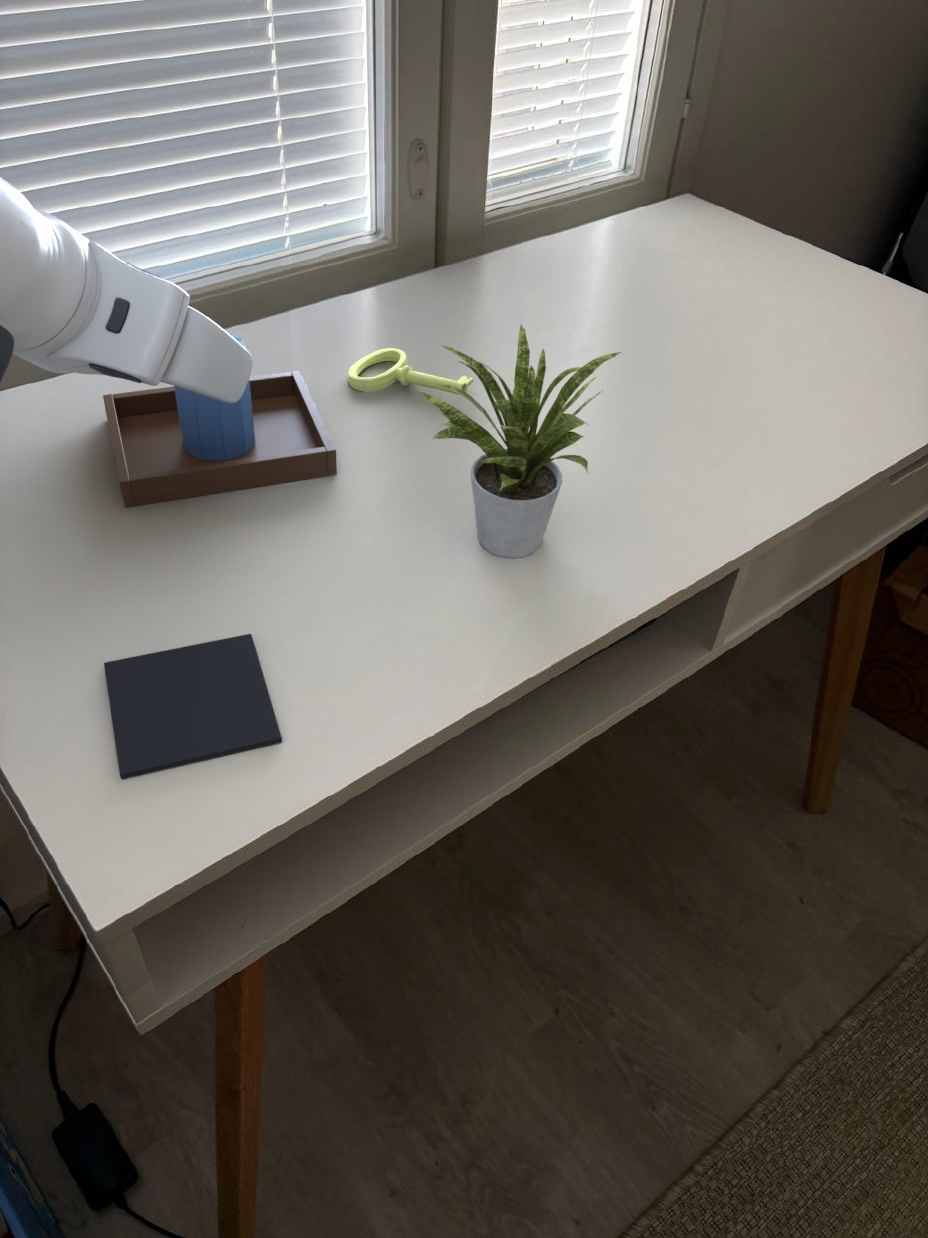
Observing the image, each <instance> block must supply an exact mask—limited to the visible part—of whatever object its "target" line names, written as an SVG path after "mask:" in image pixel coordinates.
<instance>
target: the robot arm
mask: <svg viewBox="0 0 928 1238" xmlns="http://www.w3.org/2000/svg"><path fill="white" fill-rule="evenodd" d="M190 300H191V296H190V294H189V293H188V292H187V291H185V290H184V289H183V288H181V287H180V286H179V285H177V284H175V283H174V282H171V281H168V280H166V279H165V278H163V277H161V276H159V275H156V274H154V273H151V272H149V271H146V270H145V269H142V268H140V267H138V266H136V265H134V264H131V263H130V262H125V261H123V260H121V259H120V258H119V257H117V256H116V255H115V254H113V253H112V252H111V251H109V250H108V249H106V248H105V247H104V246H102V245H101V244H99V243H98V242H96V241H94V240H90V239H89V238H87V237H86V236H85V235H83V234H82V233H80V232H79V231H78V230H76V229H74V227H72V226H70V225H69V224H67V223H66V222H65V221H64V220H62V219H60V218H59V217H57V216H55V215H53V214H52V213H48V212H46V211H43V210H39V209H35V208H34V207H33V206H32V204H31V203H30V202H29V200H28V198H26V196H25V195H24V194H23V193H22V192H21V191H20V190H19V189H18V188H16V187H15V186H14V185H13V184H11V183H10V182H9V181H7V180H5V178H3V177H1V176H0V384H1V383H2V381H3V380H4V377H5V375H6V372H7V370H8V368H9V366H10V362H11V360H12V357H13V356H16V357H18V358H20V359H22V360H24V361H26V362H28V363H30V364H32V365H35V366H36V367H39V368H40V369H43V370H45V371H47V372H51V373H54V374H59V375H60V374H63V375H67V374H74V373H75V374H81V375H98V376H108V377H111V378H118V379H122V380H125V381H130V382H134V383H137V384H145V385H148V386H151V387H156V386H159V384H160V383H163V384H166V385H170V386H172V387H174V386H177V387H180V388H183V389H186V390H189V391H192V392H195V393H198V394H201V395H204V396H207V397H210V398H213V399H216V400H219V401H222V402H226V403H235V402H237V401H238V400H239V399H240V398H241V396H242V395H243V393H244V390H245V388H246V385H247V383H248V380H249V377H251V374H252V370H253V365H254V358H253V356H252V354H251V352H250V351H249V350H248V349H247V348H246V346H245V347H243V346H242V345H241V344H240V343H239V342H238V341H237V340H236V339H234V338H233V337H232V336H231V335H230V334H231V333H230V334H228V333H229V332H228V331H226V330H225V329H224V328H222V326H220V325H219V324H218V323H216V322H215V321H214V320H212V319H211V318H209V317H208V316H207V315H205V314H203V313H202V312H200V311H199V310H197V309H195V308H193V307H192V306H189V305H190ZM227 332H228V333H227Z"/></svg>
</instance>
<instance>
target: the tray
mask: <svg viewBox="0 0 928 1238" xmlns="http://www.w3.org/2000/svg"><path fill="white" fill-rule="evenodd" d="M249 383H250V393H251V403H252V413H253V423H254V433H255V443H254V445H253V446H252V447H251V448H250V450H249V451H248V452H247V453H246V454H245V455H242V456H239V457H236V458H233V459H230V460H227V461H226V460H225V461H204V460H201V459H199V458H196V457H194V456H192V455H190V454H188V453H187V452H186V450H185V447H184V443H183V439H182V433H181V427H180V420H179V414H178V408H177V401H176V395H175V389H174V386H167V387H159V388H158V387H157V388H151V389H142V390H135V391H134V390H133V391H127V392H119V393H109V394H103V395H102V399H103V403H104V408H105V415H106V420H107V425H108V431H109V436H110V441H111V447H112V451H113V456H114V457H113V458H114V462H115V467H116V472H117V477H118V483H119V488H120V492H121V497H122V501H123V506H124V508H131V507H138V506H143V505H149V504H156V503H161V502H162V503H163V502H169V501H175V500H182V499H188V498H195V497H201V496H208V495H215V494H221V493H227V492H234V491H240V490H246V489H251V488H259V487H264V486H265V487H266V486H272V485H278V484H283V483H284V484H285V483H291V482H297V481H302V480H310V479H317V478H323V477H328V476H336V475H337V474H338V467H337V466H338V465H337V464H338V463H337V449H336V447H335V445H334V443H333V441H332V438H331V436H330V434H329V431H328V429H327V427H326V425H325V424H324V421H323V419H322V417H321V414H320V413H319V410H318V408H317V405H316V404H315V401H314V400H313V397H312V395H311V393H310V391H309V390H310V389H309V388H308V387H307V384H306V382H305V379H304V377H303V375H302V374H301V371H300V370H293V371H286V372H278V373H271V374H269V373H268V374H262V375H255V376H250V377H249Z"/></svg>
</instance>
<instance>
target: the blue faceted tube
mask: <svg viewBox="0 0 928 1238" xmlns="http://www.w3.org/2000/svg"><path fill="white" fill-rule="evenodd" d="M226 332H227V333H228V334H230V335H231V336H232V337H233V338H234V339H236V340H237V341H238V342H239V343H240V344H241V345H242V346H243V347H245V348H246V346H245V343H244V340H243V338H241V337H240V336H237V335H235V334H233V333H230V332H228V331H226ZM173 387H174V389H175V395H176V401H177V408H178V414H179V420H180V427H181V433H182V439H183V443H184V447H185V450H186V452H187V453H188V454H190V455H192V456H194V457H196V458H199V459H201V460H204V461H225V460H226V461H227V460H230V459H233V458H236V457H239V456H242V455H245V454H246V453H247V452H248V451H249V450H250V448H251V447H252V446H253V445H254V443H255V433H254V423H253V413H252V403H251V393H250V383H249V380H248V383H247V385H246V388H245V390H244V393H243V395H242V396H241V398H240V399H239V400H238V401H237V402H235V403H226V402H222V401H219V400H216V399H213V398H210V397H207V396H204V395H201V394H198V393H195V392H192V391H189V390H186V389H183V388H180V387H177V386H173Z"/></svg>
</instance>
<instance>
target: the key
mask: <svg viewBox="0 0 928 1238" xmlns="http://www.w3.org/2000/svg"><path fill="white" fill-rule="evenodd" d="M381 362H395V363H396V364H395V365H393V366H392V367H390V368H389V369H388V370H386V371H384V372H383V373H380V374H377V375H375V376H370V377H362V376H359V375H360V373H362V372H363V371H364V370H365V369H366V368H369V366H372V365H375V364H377V363H381ZM347 381H348V383H349V385H350V386H351V388H353V389H354V390H356V391H360V392H375V391H379V390H382V389H385V388H387V387H389V386H391V385H392V384H394V383H395V382H397V381H399V383H400V385H401V386H403V387H408V386H409V385H410V384H412V385H416V386H421V387H424V388H429V389H433V390H438V391H442V392H446V393H450V394H454V395H459V396H461V395H460V394H459V393H457V392H455V391H453V390H451V389H448V388H446V387H443V386H441V385H450V386H453V387H456V388H458V389H460V390H462V391H464V392H466V393H467V390H468V387H470V385H472V384H473V383H474V377H471V376H470V377H468V376H466V375H462V376H461V377H460V378H458V380H454V379H450V378H445V377H441V376H437V375H433V374H428V373H425V372H424V373H423V372H419V371H415V370H413V368H412V366H410V365H408V357H407V354H406V352H404V350H402V349H398V348H394V347H393V348H392V347H391V348H382V349H379V350H376V351H373V352H371V353H369V354H366V355H365V356H362V357H361V358H360V359H359V360H357V361H356V362H354V363H353V365H351V366H350V368H349V369H348V373H347ZM438 384H439V385H438Z"/></svg>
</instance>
